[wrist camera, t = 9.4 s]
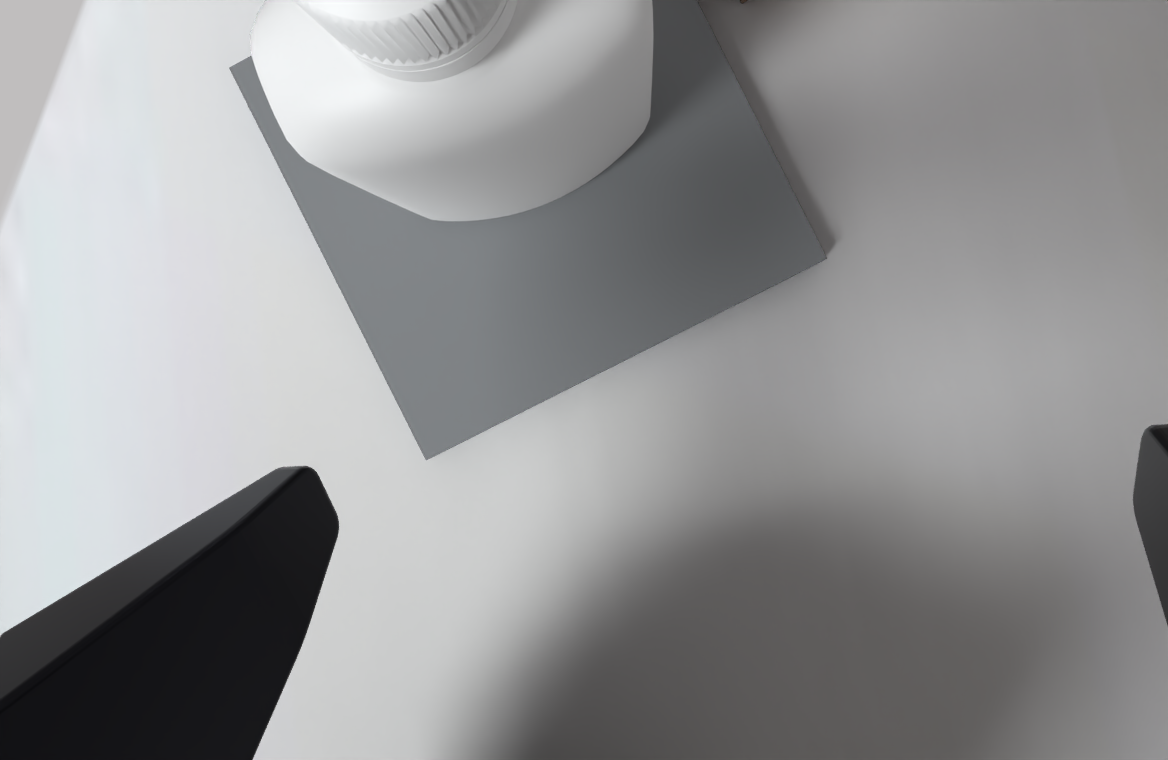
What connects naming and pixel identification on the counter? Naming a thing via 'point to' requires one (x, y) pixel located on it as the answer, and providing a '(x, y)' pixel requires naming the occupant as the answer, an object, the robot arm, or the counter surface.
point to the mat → (562, 251)
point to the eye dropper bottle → (458, 95)
